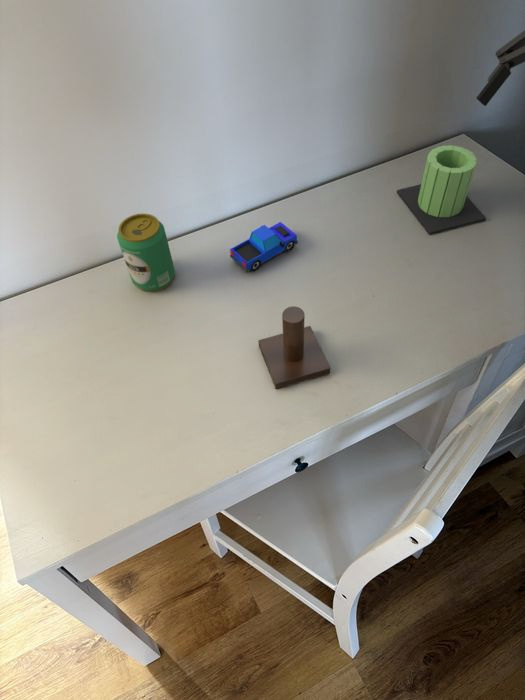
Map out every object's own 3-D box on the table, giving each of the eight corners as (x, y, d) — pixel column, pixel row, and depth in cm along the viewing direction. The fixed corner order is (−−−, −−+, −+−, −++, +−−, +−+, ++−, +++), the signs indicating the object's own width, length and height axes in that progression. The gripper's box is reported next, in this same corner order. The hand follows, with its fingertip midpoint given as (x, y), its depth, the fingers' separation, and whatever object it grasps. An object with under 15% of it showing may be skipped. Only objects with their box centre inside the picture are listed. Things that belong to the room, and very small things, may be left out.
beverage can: (123, 285, 98) (105, 234, 88) (148, 257, 102) (133, 206, 92) (159, 299, 95) (144, 248, 86) (184, 270, 99) (172, 218, 90)
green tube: (454, 222, 103) (467, 177, 95) (411, 209, 106) (421, 164, 98) (468, 197, 107) (482, 152, 99) (427, 185, 110) (437, 141, 102)
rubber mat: (485, 220, 103) (486, 217, 103) (429, 235, 102) (429, 232, 101) (449, 179, 112) (449, 176, 111) (396, 192, 110) (396, 189, 109)
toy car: (300, 249, 101) (300, 228, 97) (249, 278, 97) (247, 258, 93) (278, 231, 104) (277, 210, 101) (228, 258, 100) (225, 238, 97)
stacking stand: (330, 373, 84) (334, 329, 75) (275, 389, 82) (273, 346, 74) (310, 331, 89) (311, 285, 80) (258, 345, 88) (254, 300, 79)
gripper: (679, 33, 80) (567, 158, 89) (554, -12, 95) (470, 99, 104) (667, 5, 75) (551, 140, 84) (538, -38, 90) (451, 81, 99)
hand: (506, 117), depth 94 cm, fingers open, 13 cm apart
